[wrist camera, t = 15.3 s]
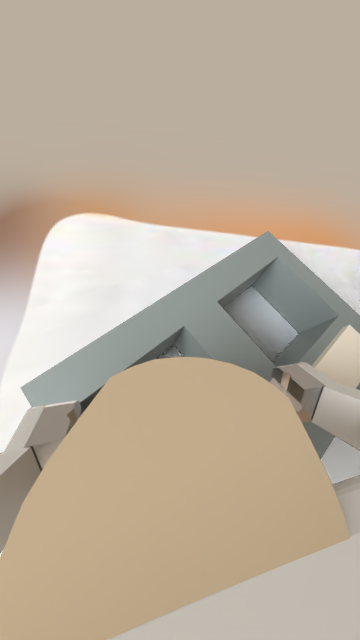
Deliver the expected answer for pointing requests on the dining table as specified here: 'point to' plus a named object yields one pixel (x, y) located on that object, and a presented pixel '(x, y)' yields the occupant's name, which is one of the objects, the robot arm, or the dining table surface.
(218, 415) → the handle
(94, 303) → the dining table surface
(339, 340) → the socket board
